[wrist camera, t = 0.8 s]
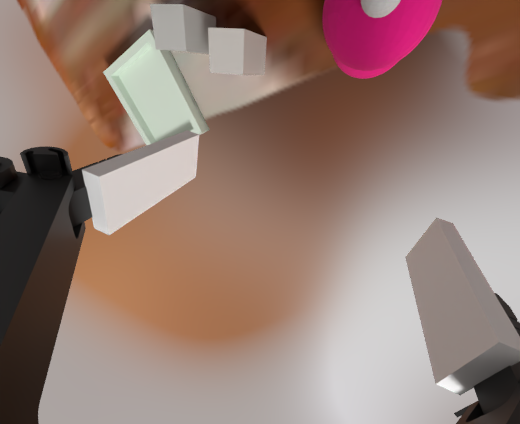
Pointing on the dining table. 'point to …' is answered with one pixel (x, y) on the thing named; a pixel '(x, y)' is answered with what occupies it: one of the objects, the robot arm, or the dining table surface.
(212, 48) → the stone
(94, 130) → the dining table surface
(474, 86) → the dining table surface
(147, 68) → the bin
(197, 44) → the stone
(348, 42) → the pepper mill
